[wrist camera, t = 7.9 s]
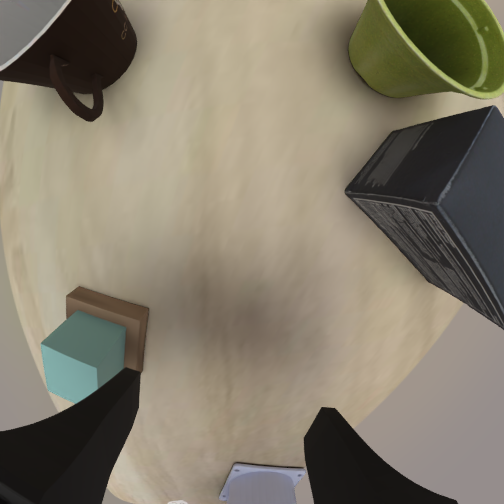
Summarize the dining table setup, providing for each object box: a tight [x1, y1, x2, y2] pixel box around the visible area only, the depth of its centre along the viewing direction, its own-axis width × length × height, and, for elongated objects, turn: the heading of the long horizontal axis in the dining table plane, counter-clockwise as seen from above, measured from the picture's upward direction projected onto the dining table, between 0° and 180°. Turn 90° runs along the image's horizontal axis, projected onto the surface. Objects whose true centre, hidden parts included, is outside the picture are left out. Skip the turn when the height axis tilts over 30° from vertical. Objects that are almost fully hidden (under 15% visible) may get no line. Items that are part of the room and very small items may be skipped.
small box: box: [345, 105, 504, 330], centre depth 14 cm, size 11×6×10 cm, turn 51°
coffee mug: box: [0, 0, 137, 122], centre depth 11 cm, size 12×9×10 cm
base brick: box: [66, 287, 149, 373], centre depth 20 cm, size 6×6×2 cm
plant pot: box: [348, 0, 504, 99], centre depth 12 cm, size 9×9×9 cm
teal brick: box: [41, 310, 126, 404], centre depth 16 cm, size 4×4×5 cm
